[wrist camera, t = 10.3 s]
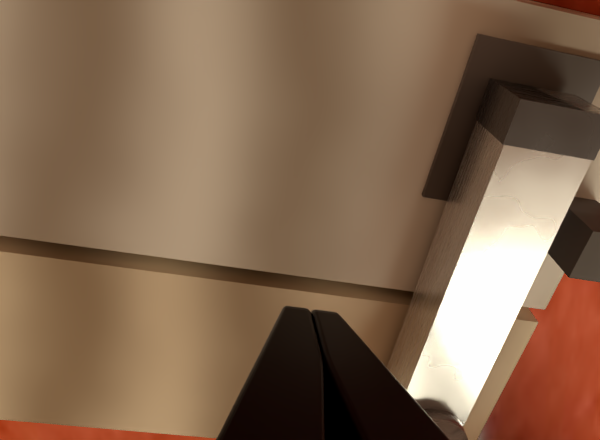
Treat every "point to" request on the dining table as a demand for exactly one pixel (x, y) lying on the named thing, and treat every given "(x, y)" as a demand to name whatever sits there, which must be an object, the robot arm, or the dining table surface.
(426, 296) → the latch bar
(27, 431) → the dining table surface
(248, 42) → the wooden case with bar
